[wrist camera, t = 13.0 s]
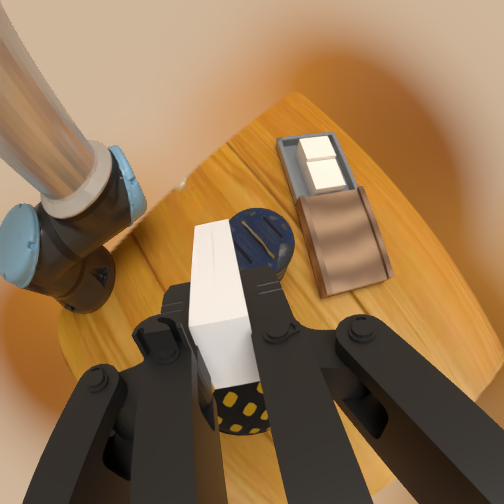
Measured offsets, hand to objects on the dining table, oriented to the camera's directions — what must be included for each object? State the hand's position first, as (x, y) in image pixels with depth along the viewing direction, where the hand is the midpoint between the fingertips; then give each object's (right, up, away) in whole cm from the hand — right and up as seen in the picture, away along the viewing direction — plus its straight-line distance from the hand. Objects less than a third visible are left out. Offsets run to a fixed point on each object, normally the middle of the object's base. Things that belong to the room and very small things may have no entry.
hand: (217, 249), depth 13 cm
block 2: (+15, +13, +43) cm, 48 cm away
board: (+18, +1, +40) cm, 44 cm away
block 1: (+15, +17, +41) cm, 47 cm away
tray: (+15, +17, +45) cm, 50 cm away
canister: (+2, -3, +39) cm, 39 cm away
